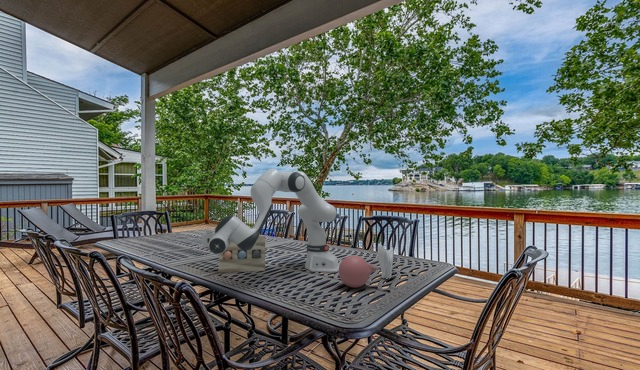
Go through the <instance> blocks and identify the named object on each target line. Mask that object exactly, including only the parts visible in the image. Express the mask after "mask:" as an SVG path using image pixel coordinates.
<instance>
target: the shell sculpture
mask: <svg viewBox="0 0 640 370" xmlns="http://www.w3.org/2000/svg"><path fill="white" fill-rule="evenodd" d="M377 259H378V265H379V269H380V271H381V277H380V278H382V279H384V278H389V279H388V280H390V279H391V278H392V273H393V272H392V271H393V270H392V269H393V262H394V247H391V248H390V249H385V247H384V246H383V245H382V244H380V245H378V246H377ZM386 276H387V277H386Z"/></svg>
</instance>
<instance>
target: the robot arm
mask: <svg viewBox="0 0 640 370" xmlns="http://www.w3.org/2000/svg"><path fill="white" fill-rule="evenodd" d="M277 191H278V192H283V193H295V196H296V197H297V199H298V200H299V202H300V206H299V207H298V210H297V214H298V216H299V218H300V219H301V220H302V221H303V223H304V226H305V227H306V233H307V244H306V260H305V264H304V265H305V266H304V268H305V269H307V270H309V272H320V273H321V272H323V273H337V272H338V273H339V266H340V263H339V260H338V257H337V256H336V255H335V254H334V253H332V252H331V251H330V245H328V244H327V243H326V242H327V241H326V240H327V238H326V237H327V236H326V235H327V234H326V231H325V230H326V229H324V228H323V227H322V226H321V224H320V223H331V222H333V221H334V220H335V219H336V217H337V209H336V207H335V206H334V205H332V204H331V203H328V202H327V201H326V200H325V199H323V198H322V197H321V196H320V195H319V194H318V192H317V190H316V188H315V186H314V185H313V183H312V180H311V179H310V178H309V177H308V176H307V174H306V173H305V172H304V171H299V170H298V171H294V172H293V171H288V170H287V171H285V170H284V171H279V170H278V169H276V168H269V169H267V170H266V171H265V172H263V173H262V174H261V175H260V176H259V177H258V178H257V179H256V180H255V182H254V183H253V184H252V186H251V188H250V197H251V200H252V201H253V203H254V205H255V206H256V209H257V210H258V217H257V219H256V220H255V223H254V225H253V226H252V228H251V227H250V226H248V225H247V224H246V223H245V222H244V221H242V220H241V219H240V218H239V217H237V216H235V215H234V214H230V215H226V216H225V217H224V218H223V219H221V221H220V222H219V223H218V224H217V226H216V227H215V228H214V231H213V232H204V233H202V235H201V244H202V247H203V248H208V250H209V251H210V252H211V253H213V255H219V254H222V253H224V252H225V251H226V250H227V249H228V247H229V245H230V243H231V242H234V243H235V244H236V245H237V246H238V247H239V248H240V249H241V250H250V249H251V248H253V247H254V246H255V244H256V242H257V240H258V237H259V235H261V232H262V231H263V229H264V226H265V225H266V222H267V220H268V218H269V216H270V214H271V211H272V210H273V203H272V200H273V196H274V195H275V193H276V192H277Z"/></svg>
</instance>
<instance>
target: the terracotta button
mask: <svg viewBox="0 0 640 370" xmlns="http://www.w3.org/2000/svg"><path fill="white" fill-rule="evenodd" d="M231 256H232V252H231V251H226V252H225V253H224V255H223V257H224V259H225V260H229V259H230V258H231Z"/></svg>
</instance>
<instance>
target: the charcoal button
mask: <svg viewBox="0 0 640 370" xmlns="http://www.w3.org/2000/svg"><path fill="white" fill-rule="evenodd" d="M259 257H260V251H259V250H254V251H253V258H255V259H258V258H259Z"/></svg>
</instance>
